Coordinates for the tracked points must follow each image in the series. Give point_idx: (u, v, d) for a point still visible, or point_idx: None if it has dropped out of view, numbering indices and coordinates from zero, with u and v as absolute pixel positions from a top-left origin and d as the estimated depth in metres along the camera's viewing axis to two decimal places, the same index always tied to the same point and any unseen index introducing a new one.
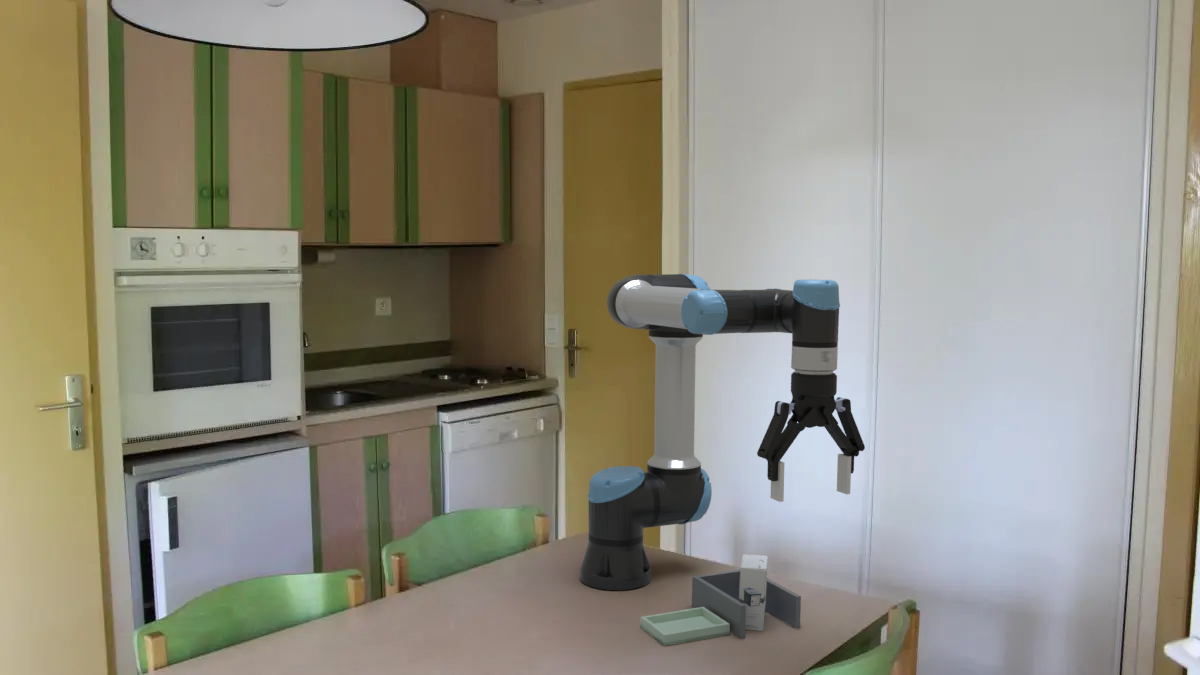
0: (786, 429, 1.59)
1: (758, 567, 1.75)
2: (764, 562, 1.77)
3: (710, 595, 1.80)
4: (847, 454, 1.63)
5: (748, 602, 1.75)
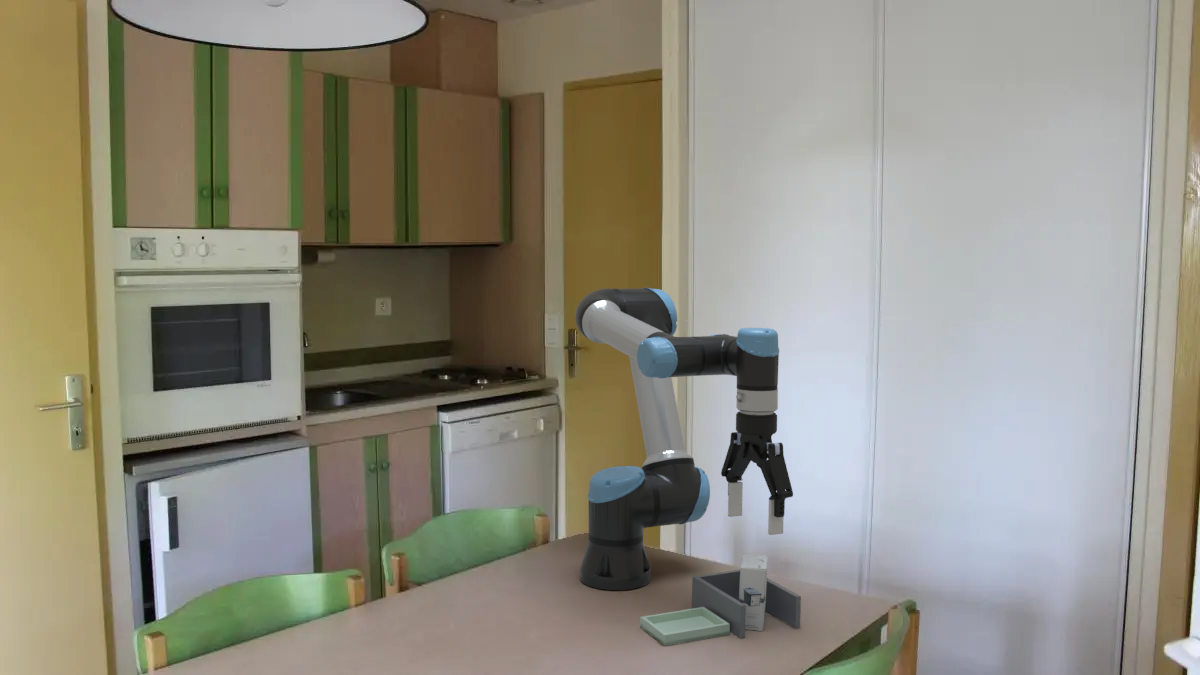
0: None
1: (758, 567, 1.75)
2: (764, 562, 1.77)
3: (710, 595, 1.80)
4: None
5: (748, 602, 1.75)
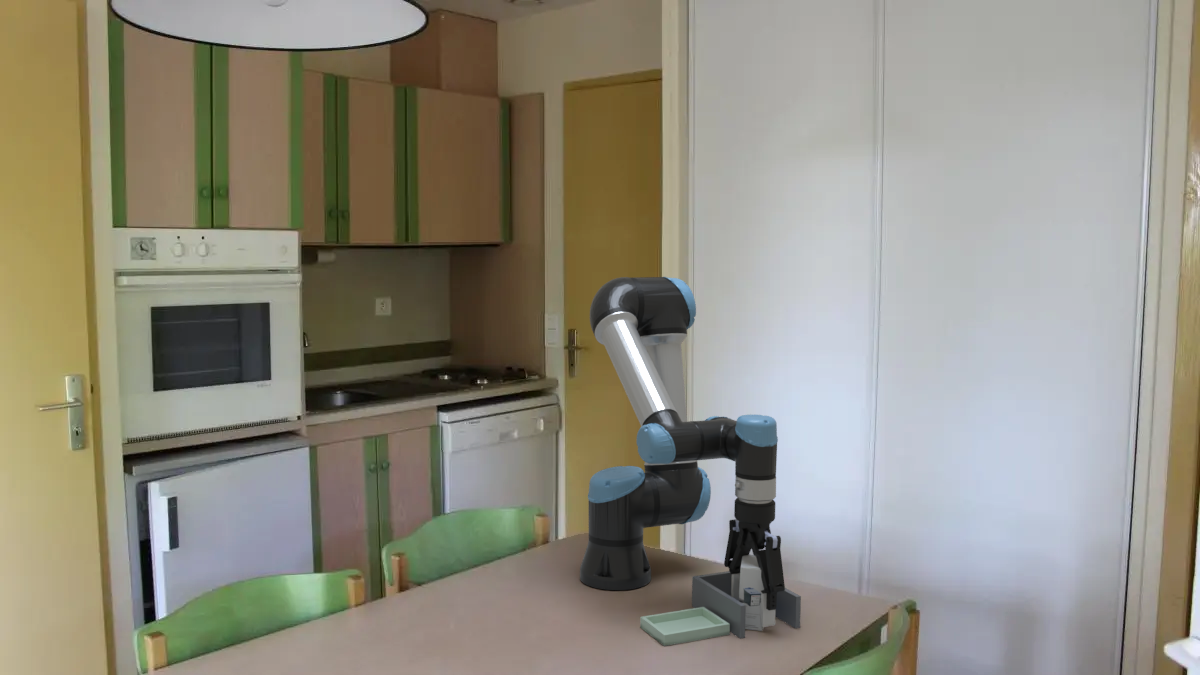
0: None
1: (758, 567, 1.75)
2: None
3: (710, 595, 1.80)
4: None
5: (747, 602, 1.75)
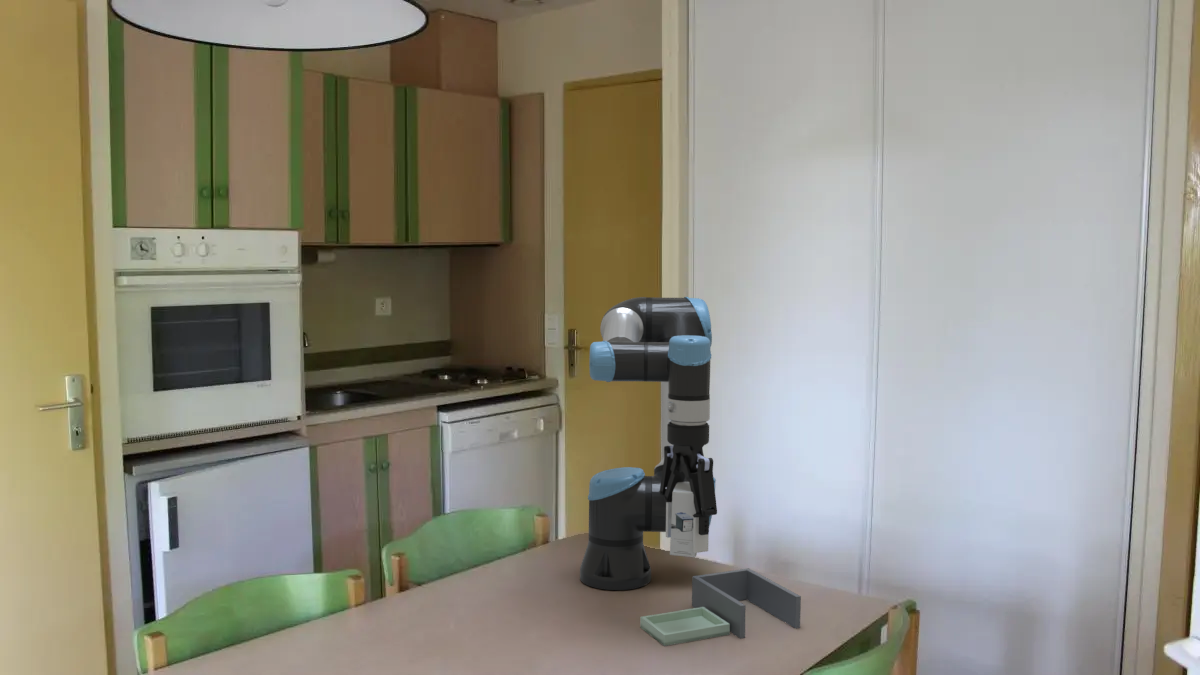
0: None
1: None
2: None
3: (710, 595, 1.80)
4: None
5: (680, 527, 1.69)
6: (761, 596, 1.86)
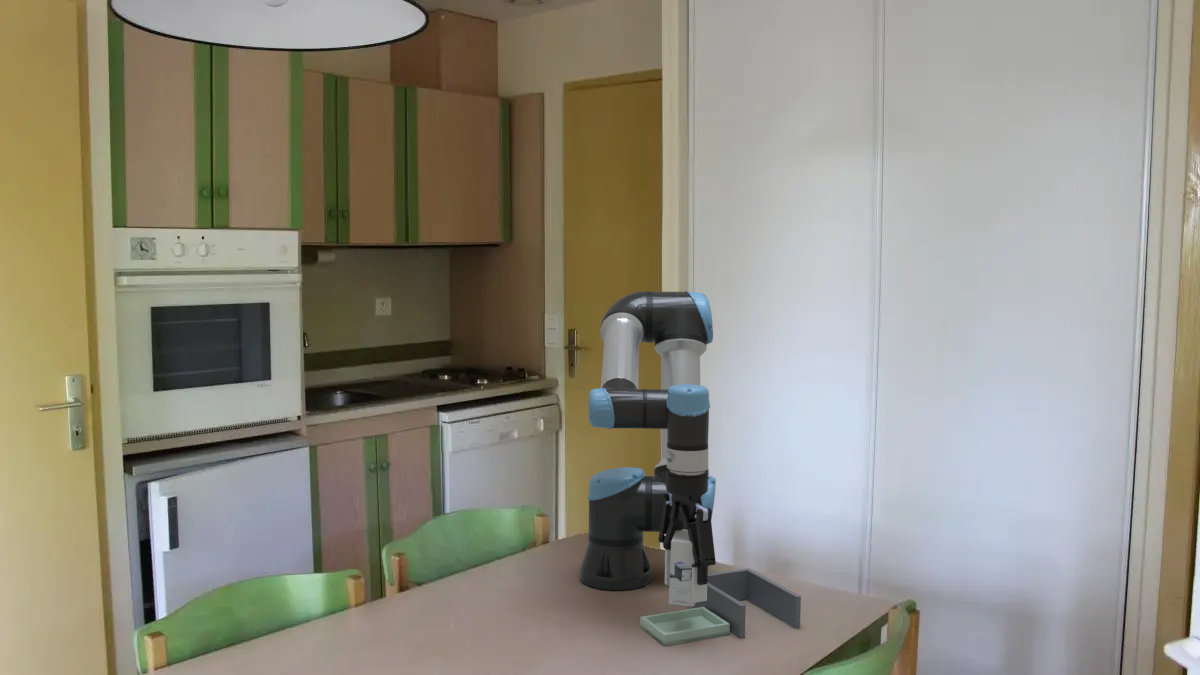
0: None
1: (689, 541, 1.69)
2: None
3: (710, 595, 1.80)
4: None
5: (678, 577, 1.69)
6: (761, 596, 1.86)
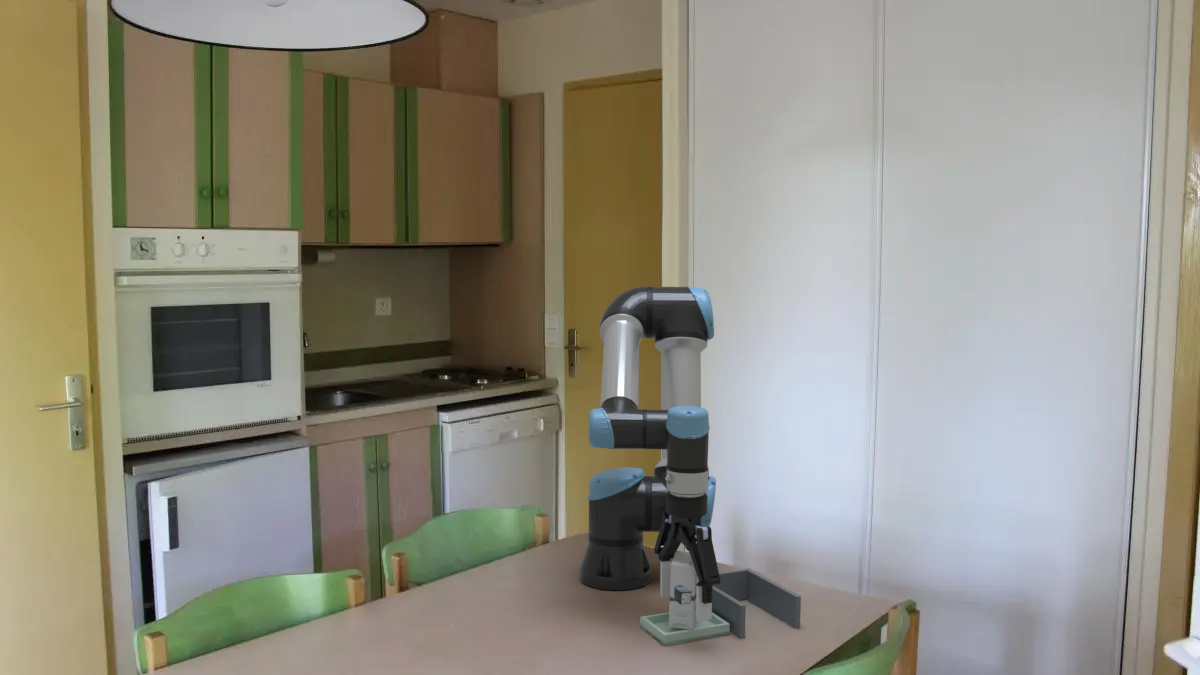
0: None
1: (689, 564, 1.70)
2: None
3: None
4: None
5: (678, 600, 1.70)
6: (761, 596, 1.86)
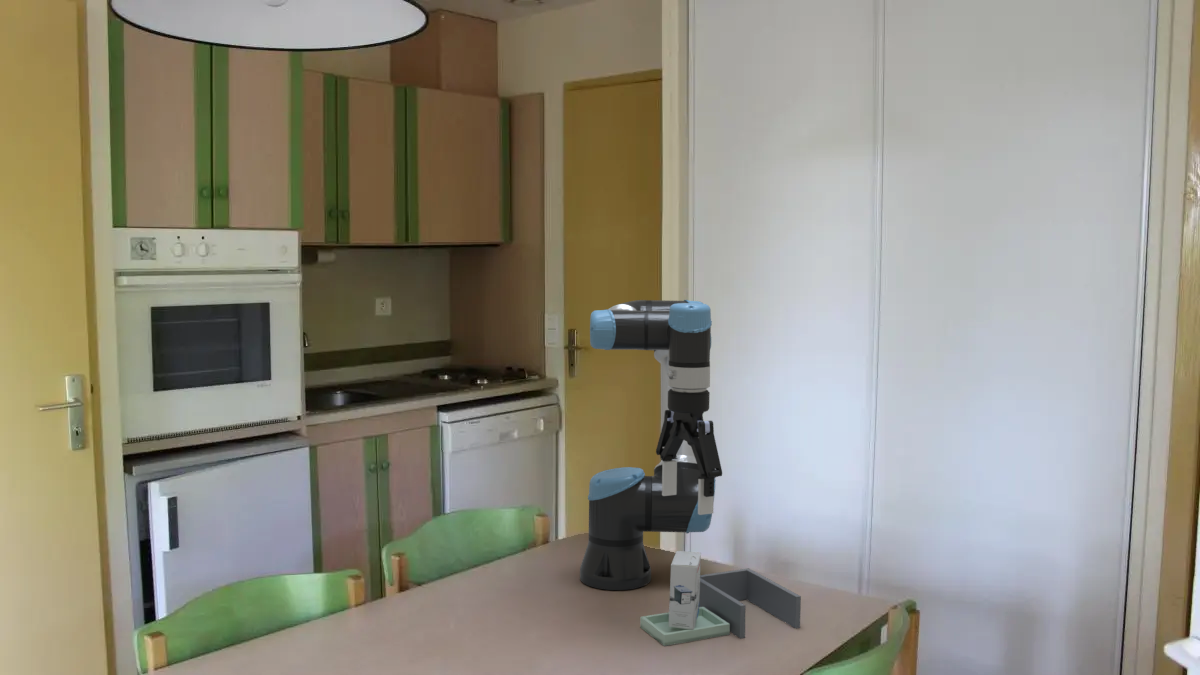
0: None
1: (689, 564, 1.70)
2: (696, 559, 1.72)
3: (710, 595, 1.80)
4: None
5: (678, 600, 1.70)
6: (761, 596, 1.86)
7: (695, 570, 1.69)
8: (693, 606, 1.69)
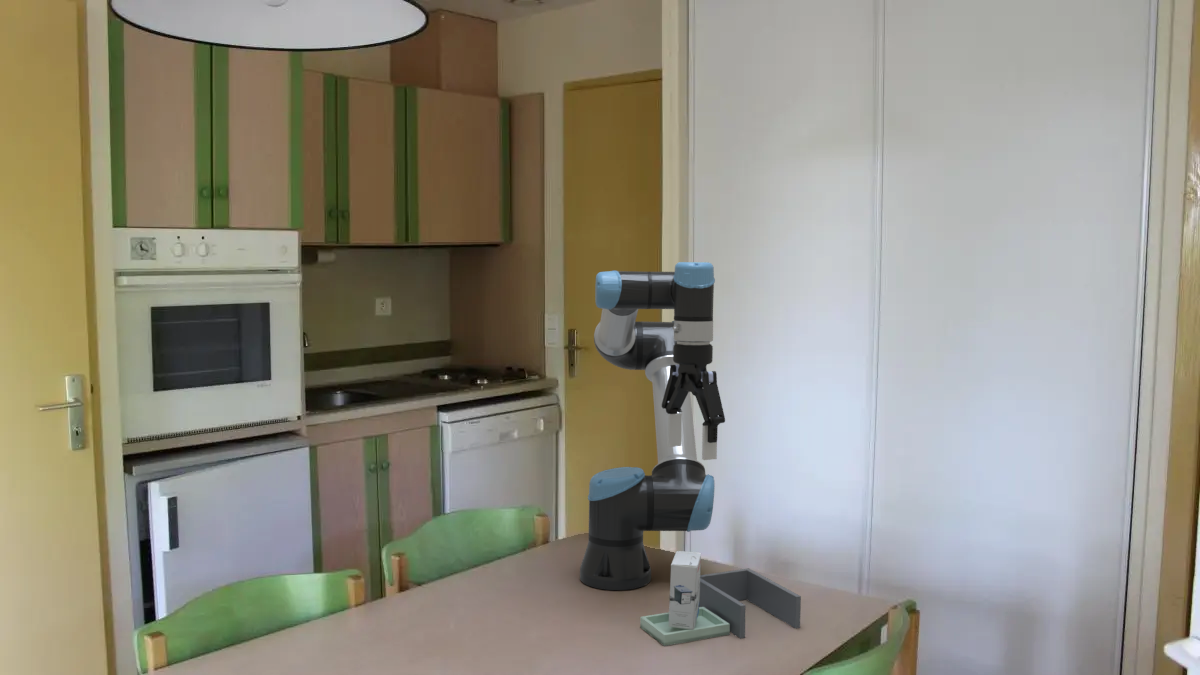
0: None
1: (689, 564, 1.70)
2: (696, 559, 1.72)
3: (710, 595, 1.80)
4: None
5: (678, 600, 1.70)
6: (761, 596, 1.86)
7: (695, 570, 1.69)
8: (693, 606, 1.69)
